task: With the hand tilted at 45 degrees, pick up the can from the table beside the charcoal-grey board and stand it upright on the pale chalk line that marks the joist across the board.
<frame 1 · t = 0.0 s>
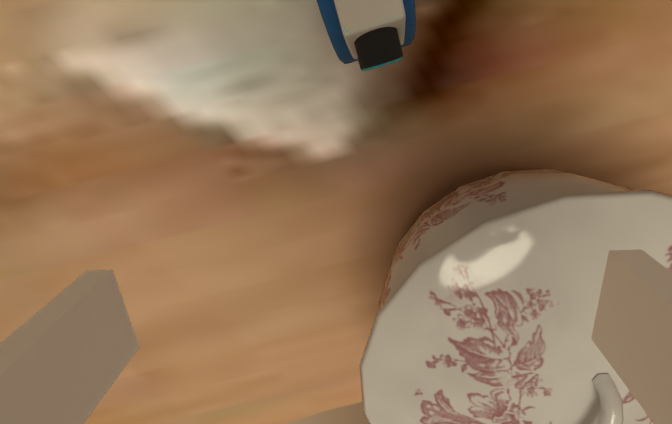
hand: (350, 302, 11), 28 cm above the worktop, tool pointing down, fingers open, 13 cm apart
chamber pot: (493, 260, 42), on the worktop
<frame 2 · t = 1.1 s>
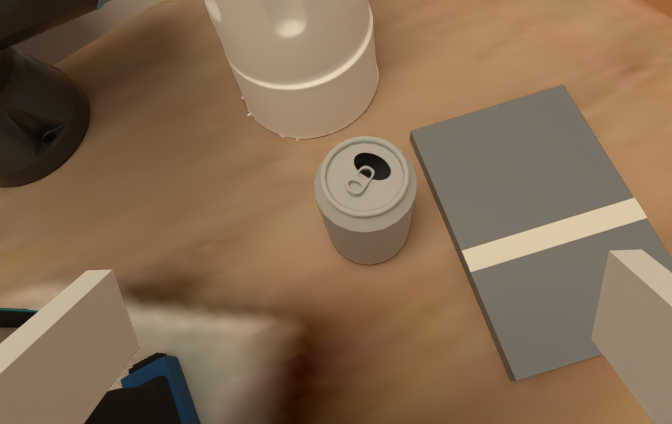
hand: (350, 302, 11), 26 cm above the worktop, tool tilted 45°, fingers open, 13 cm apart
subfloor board: (536, 220, 38), on the worktop
can: (368, 229, 39), on the worktop
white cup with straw: (309, 81, 47), on the worktop
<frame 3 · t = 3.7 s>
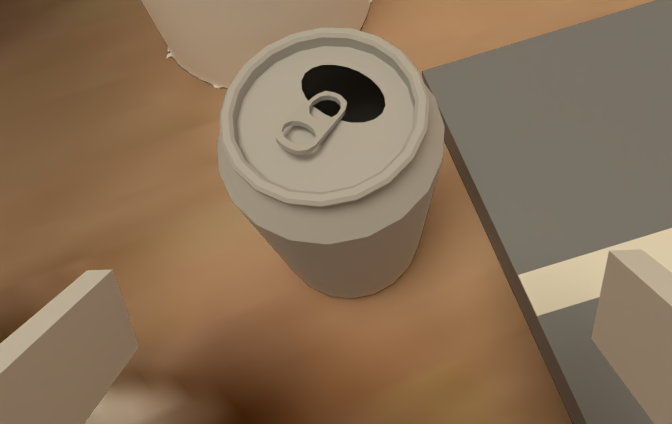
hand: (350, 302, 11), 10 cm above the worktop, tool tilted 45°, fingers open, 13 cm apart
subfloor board: (645, 219, 21), on the worktop
can: (350, 234, 23), on the worktop
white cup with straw: (264, 7, 30), on the worktop
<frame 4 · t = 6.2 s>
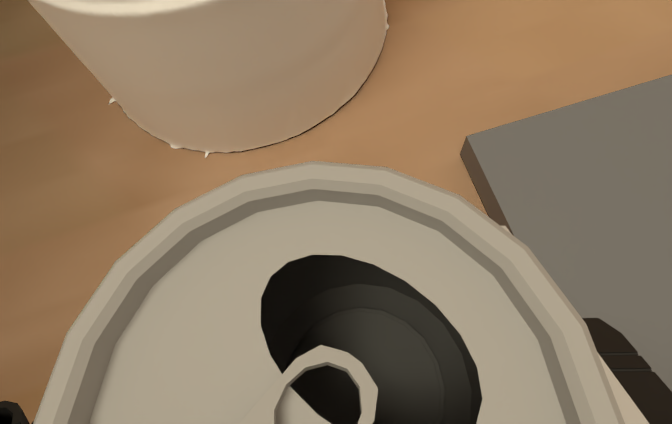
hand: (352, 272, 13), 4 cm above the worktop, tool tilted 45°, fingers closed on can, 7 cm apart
can: (362, 389, 15), on the worktop, touching gripper
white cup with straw: (244, 33, 23), on the worktop
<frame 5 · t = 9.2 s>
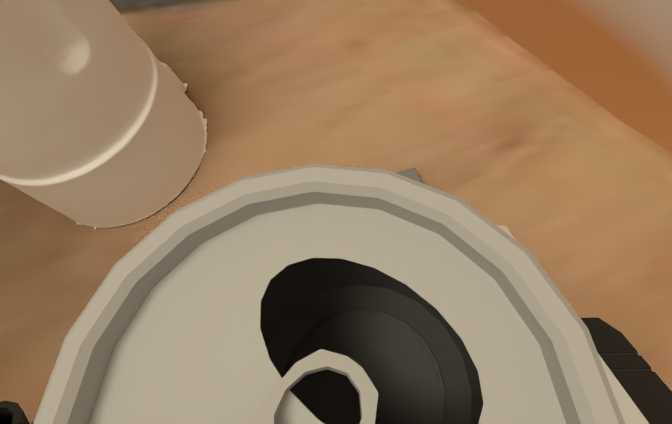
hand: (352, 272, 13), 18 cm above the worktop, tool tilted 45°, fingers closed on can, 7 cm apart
can: (362, 390, 15), point 14 cm above the worktop, touching gripper
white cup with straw: (126, 150, 38), on the worktop
when the fingers open (7 cm above the worktop, at t = 12.2 s): can drops 1 cm, resting on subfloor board.
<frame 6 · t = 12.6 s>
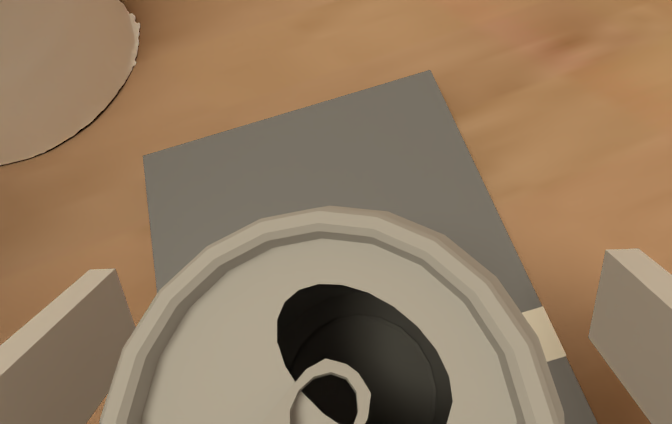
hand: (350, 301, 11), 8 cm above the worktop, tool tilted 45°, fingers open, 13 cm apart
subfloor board: (352, 341, 19), on the worktop
can: (360, 390, 17), point 1 cm above the worktop, touching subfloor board
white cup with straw: (29, 67, 28), on the worktop
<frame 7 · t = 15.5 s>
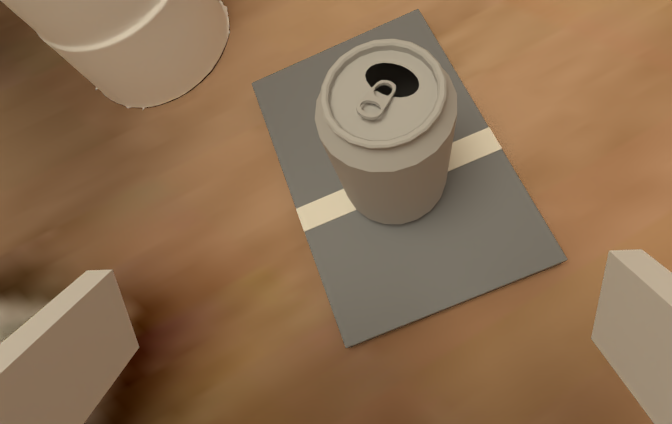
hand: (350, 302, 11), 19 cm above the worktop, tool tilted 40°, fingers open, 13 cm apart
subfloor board: (387, 166, 33), on the worktop
can: (394, 181, 31), point 1 cm above the worktop, touching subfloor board
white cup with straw: (160, 44, 43), on the worktop
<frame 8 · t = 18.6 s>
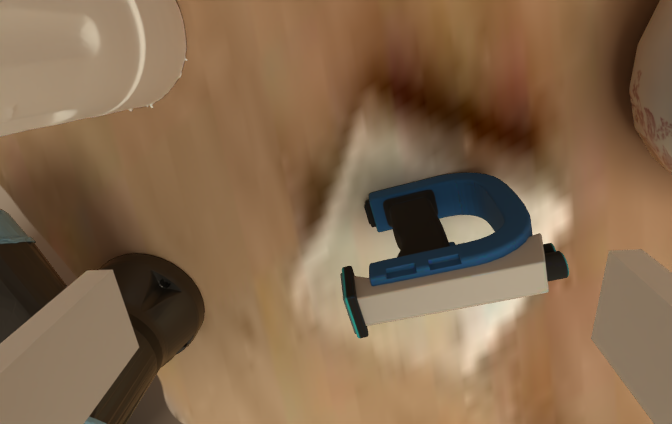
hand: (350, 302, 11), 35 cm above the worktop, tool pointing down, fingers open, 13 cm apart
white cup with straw: (113, 32, 42), on the worktop
handheld scanner: (419, 198, 47), on the worktop
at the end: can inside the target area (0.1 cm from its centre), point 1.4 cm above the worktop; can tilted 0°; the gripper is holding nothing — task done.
